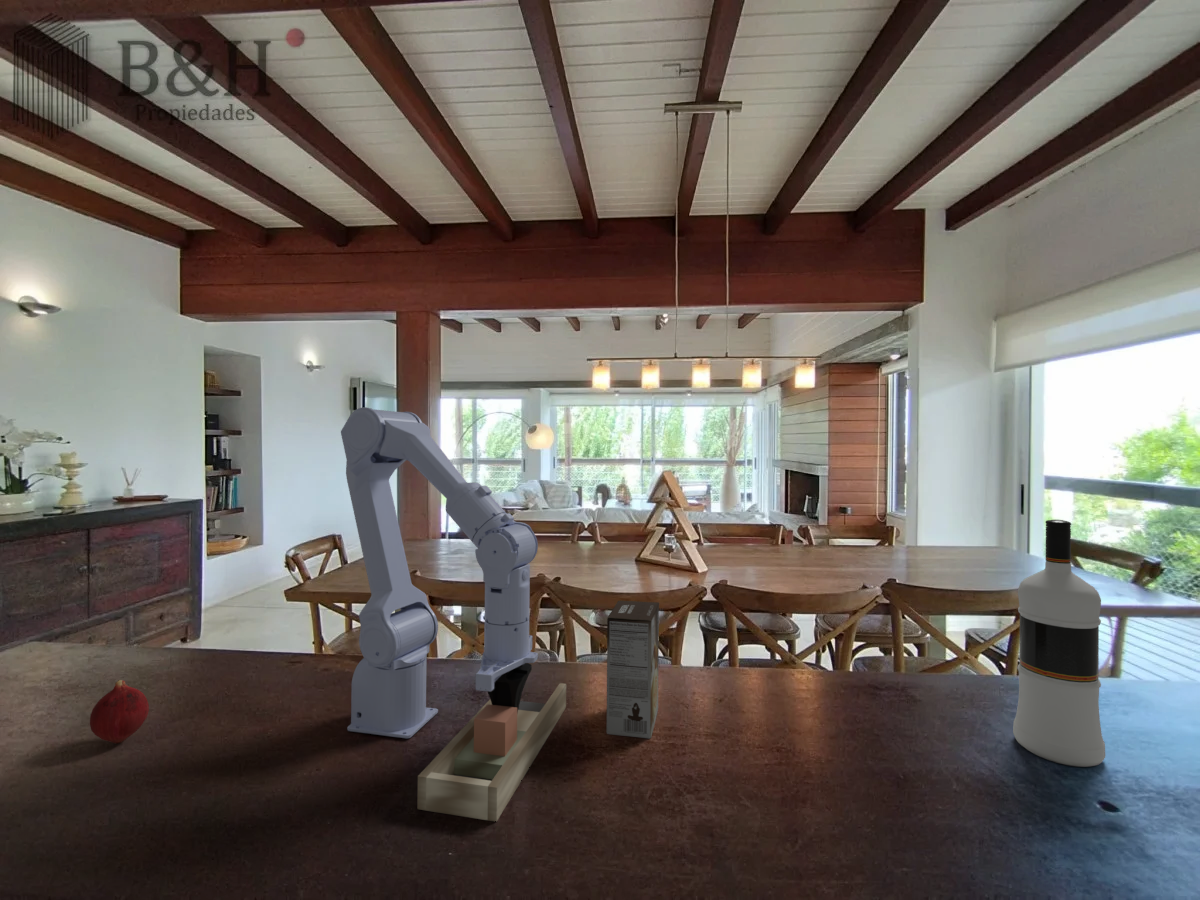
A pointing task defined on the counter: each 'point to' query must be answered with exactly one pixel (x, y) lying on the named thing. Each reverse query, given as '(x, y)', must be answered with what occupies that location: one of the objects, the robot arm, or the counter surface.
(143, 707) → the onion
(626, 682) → the coffee box
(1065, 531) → the vodka
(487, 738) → the block
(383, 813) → the counter surface
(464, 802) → the trap lane
